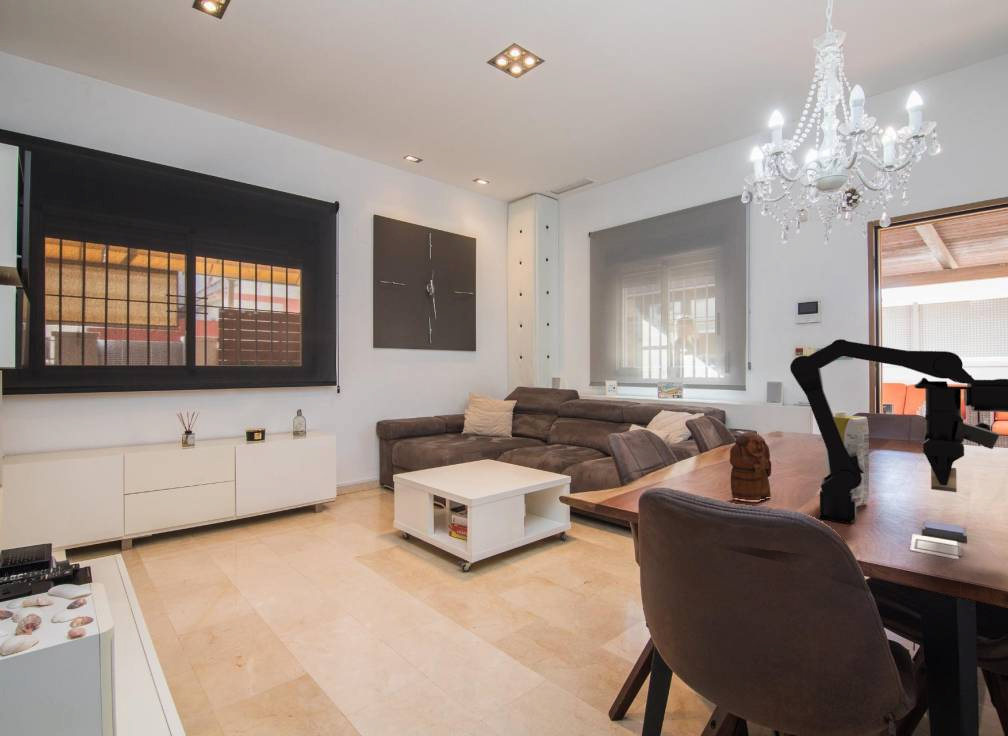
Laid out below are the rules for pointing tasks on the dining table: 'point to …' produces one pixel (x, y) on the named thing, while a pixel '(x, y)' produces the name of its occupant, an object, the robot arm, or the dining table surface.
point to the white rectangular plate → (935, 546)
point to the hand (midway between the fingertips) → (943, 483)
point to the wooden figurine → (750, 467)
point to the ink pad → (944, 530)
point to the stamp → (950, 485)
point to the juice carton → (854, 450)
